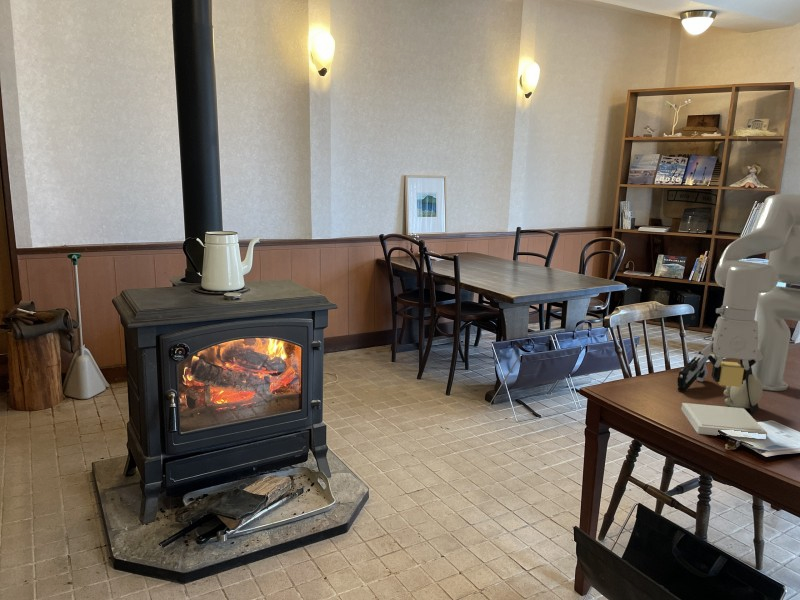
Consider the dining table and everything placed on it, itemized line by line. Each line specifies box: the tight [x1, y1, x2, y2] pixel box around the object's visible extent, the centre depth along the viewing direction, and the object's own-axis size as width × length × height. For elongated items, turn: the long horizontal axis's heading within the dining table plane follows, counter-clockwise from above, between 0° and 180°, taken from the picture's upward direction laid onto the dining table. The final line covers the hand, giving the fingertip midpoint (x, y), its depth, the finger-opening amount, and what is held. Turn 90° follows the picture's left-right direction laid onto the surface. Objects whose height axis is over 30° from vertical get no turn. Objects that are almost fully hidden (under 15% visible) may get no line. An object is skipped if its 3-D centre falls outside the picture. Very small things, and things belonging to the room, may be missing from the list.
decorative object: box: [723, 367, 764, 417], centre depth 169 cm, size 12×10×10 cm
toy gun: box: [676, 349, 709, 393], centre depth 187 cm, size 2×18×11 cm, turn 133°
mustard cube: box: [717, 360, 744, 387], centre depth 156 cm, size 5×5×5 cm
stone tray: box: [681, 402, 768, 436], centre depth 159 cm, size 16×16×2 cm
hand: (727, 380), depth 157 cm, fingers closed on mustard cube, 5 cm apart
